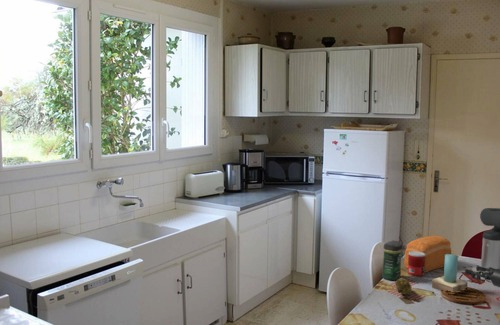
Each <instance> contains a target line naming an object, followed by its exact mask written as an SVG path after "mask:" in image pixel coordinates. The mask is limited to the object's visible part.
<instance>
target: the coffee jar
mask: <svg viewBox="0 0 500 325" xmlns="http://www.w3.org/2000/svg"><path fill="white" fill-rule="evenodd" d="M402 251H403V244H402V243H401V241H398V240H393V239H392V240H391V241H387V242H385V243H384V244H383V260H382V261H383V262H382V270H381V271H382V272H381V274H382V275H381V278H383V279H385V280H387V281H397V280H398V279H401V273H402V272H401V270H402V268H401V264H402Z"/></svg>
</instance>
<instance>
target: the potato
mask: <svg viewBox="0 0 500 325" xmlns="http://www.w3.org/2000/svg"><path fill="white" fill-rule="evenodd" d="M394 286H395V288H396V290H397V293H399V294H401V295H407V296H408V295H410V294H411V293H412V290H413V288H412V284H411V283H410V281H409V280H407V279H405V278H401V277H400V278H399V279H397V280H395V282H394Z"/></svg>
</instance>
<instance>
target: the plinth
mask: <svg viewBox="0 0 500 325" xmlns="http://www.w3.org/2000/svg"><path fill="white" fill-rule="evenodd" d="M431 282H432V284H431V288H432V289H435V290H437V291H440V292H442V291H441V290H448V291H451V292H456V291H460V290H463V289H465V288H467V289H468V281H465V280H462V279H460V278H456V282H455V283H449V282H445V281H444V275H442V276H440V277H436V278H433V279H432V281H431Z"/></svg>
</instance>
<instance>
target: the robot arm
mask: <svg viewBox="0 0 500 325" xmlns="http://www.w3.org/2000/svg"><path fill="white" fill-rule="evenodd" d="M479 217H480V221H481V223H482V224H483V226H488V227H489V226H491V227H492V228H491V229H488V230H485V231H484V232H483V233H482V245H481V246H482V248H481V260H480V261H481V262H480V265H476V269H475V270H472V269H469V268H466V269H465V270H464V274H465V275H468V276H471V279H473V280H477V281H480V282H486V281H490V282H491V283H492V285H493V286H495V287H497V288H500V207H499V208H498V207H496V208H495V207H486V208H483V209H482V210H481V211H480V214H479Z"/></svg>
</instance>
